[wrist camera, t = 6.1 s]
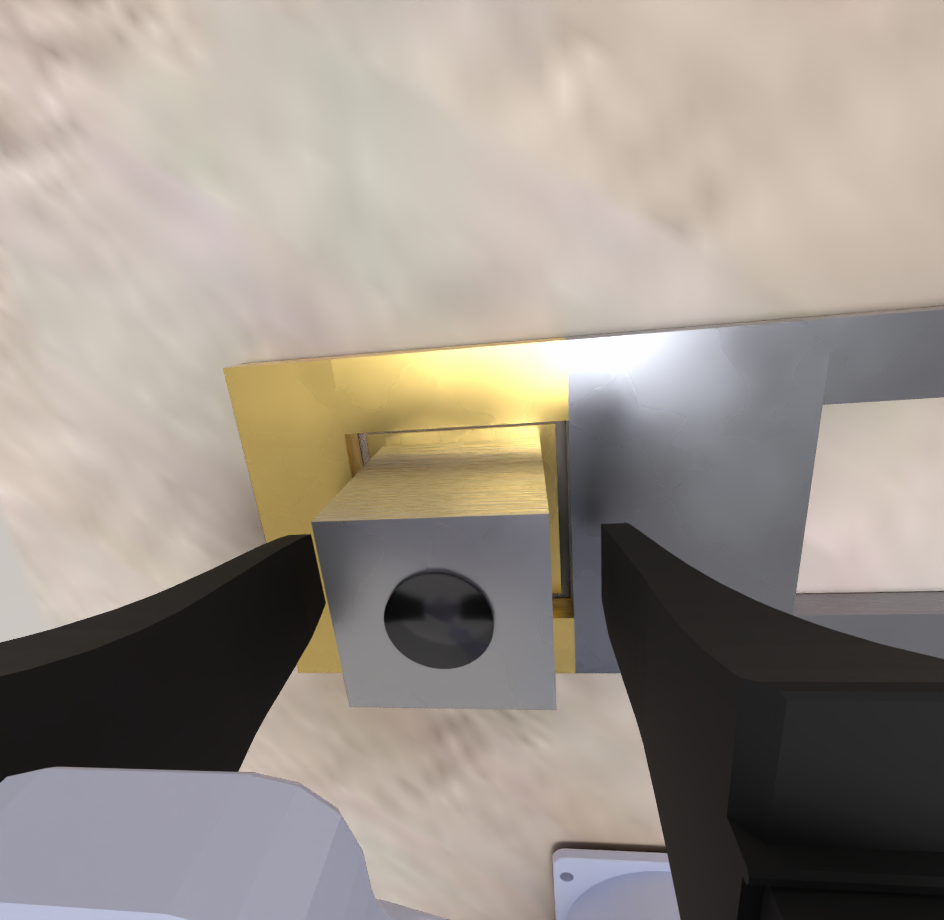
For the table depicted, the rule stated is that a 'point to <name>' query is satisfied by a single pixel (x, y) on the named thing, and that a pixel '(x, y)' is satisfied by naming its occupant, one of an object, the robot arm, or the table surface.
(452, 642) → the grey cube with hole
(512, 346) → the rail
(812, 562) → the table surface
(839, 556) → the table surface
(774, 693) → the robot arm
